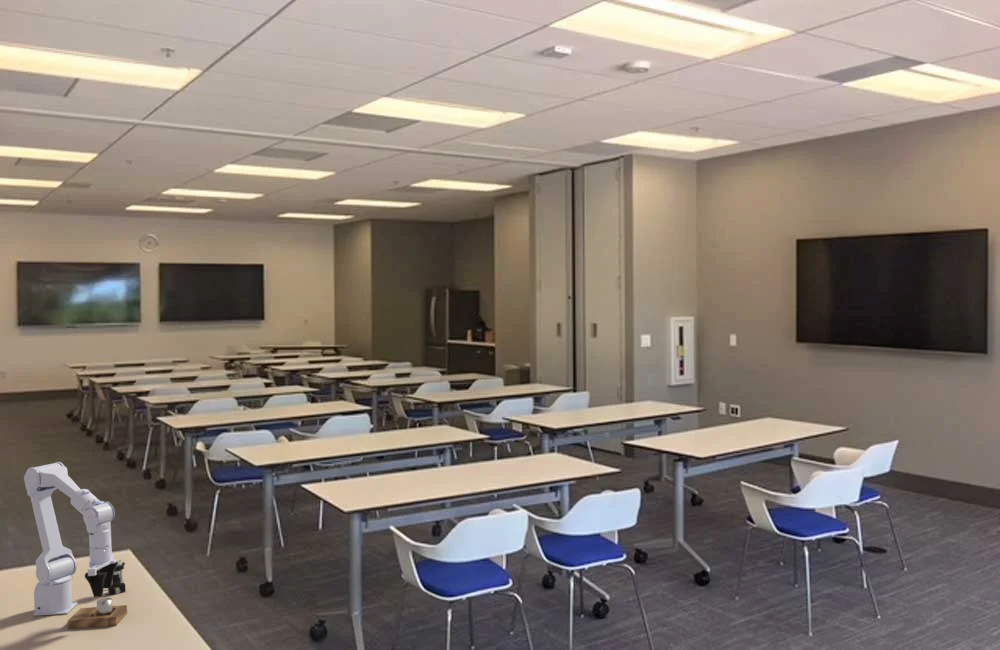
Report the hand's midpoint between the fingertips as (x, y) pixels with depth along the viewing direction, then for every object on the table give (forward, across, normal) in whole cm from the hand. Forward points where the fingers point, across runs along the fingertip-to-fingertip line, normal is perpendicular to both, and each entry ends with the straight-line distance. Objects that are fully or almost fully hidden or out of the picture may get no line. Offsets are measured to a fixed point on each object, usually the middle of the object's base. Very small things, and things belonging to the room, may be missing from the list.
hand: (102, 592), depth 235 cm
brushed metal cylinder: (+8, 0, 0) cm, 8 cm away
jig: (+8, 0, +2) cm, 9 cm away
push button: (+9, +23, +5) cm, 25 cm away
